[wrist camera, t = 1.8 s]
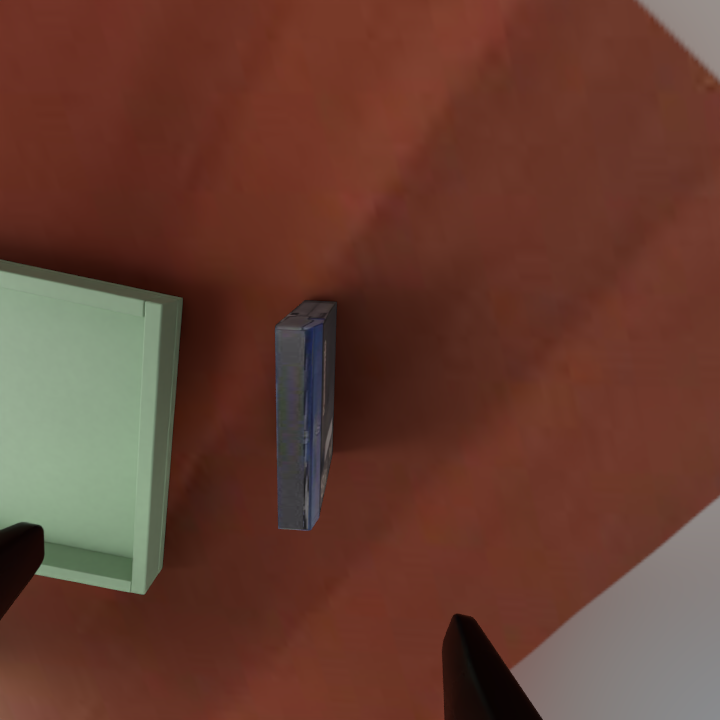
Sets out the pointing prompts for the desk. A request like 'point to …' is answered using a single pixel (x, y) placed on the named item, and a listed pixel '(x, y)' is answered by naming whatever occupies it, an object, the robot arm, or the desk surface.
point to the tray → (87, 421)
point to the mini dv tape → (304, 410)
